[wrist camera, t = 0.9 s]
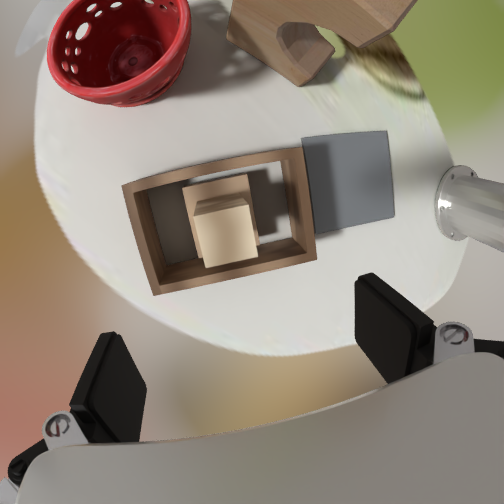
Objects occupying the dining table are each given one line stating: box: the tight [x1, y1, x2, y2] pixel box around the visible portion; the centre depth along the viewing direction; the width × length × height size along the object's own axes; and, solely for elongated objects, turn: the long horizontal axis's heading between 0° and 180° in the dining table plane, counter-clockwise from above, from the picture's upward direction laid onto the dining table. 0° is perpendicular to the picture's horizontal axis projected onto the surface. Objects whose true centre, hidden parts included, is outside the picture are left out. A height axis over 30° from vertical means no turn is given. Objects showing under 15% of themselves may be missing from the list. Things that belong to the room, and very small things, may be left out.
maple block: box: [193, 193, 258, 268], centre depth 27 cm, size 4×4×8 cm
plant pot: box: [47, 0, 191, 107], centre depth 21 cm, size 13×13×12 cm
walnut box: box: [122, 147, 317, 296], centre depth 31 cm, size 18×12×6 cm, turn 101°
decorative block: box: [226, 0, 417, 87], centre depth 19 cm, size 11×6×20 cm, turn 54°
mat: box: [301, 131, 394, 234], centre depth 35 cm, size 12×12×1 cm
